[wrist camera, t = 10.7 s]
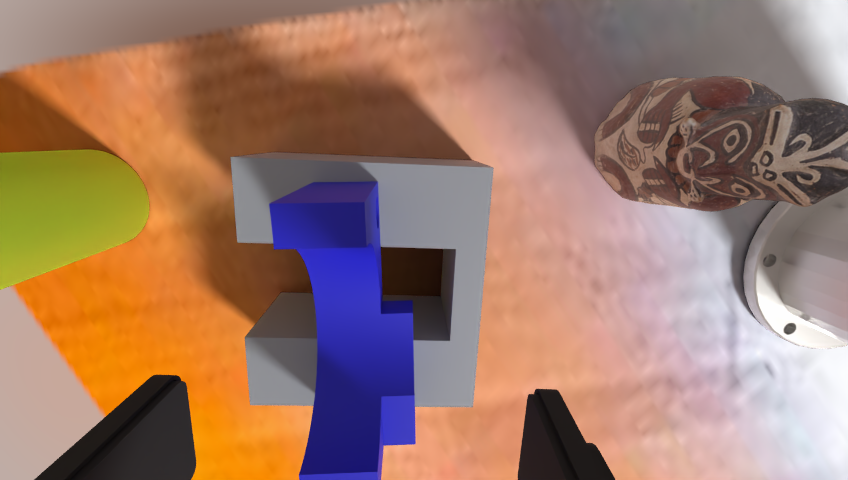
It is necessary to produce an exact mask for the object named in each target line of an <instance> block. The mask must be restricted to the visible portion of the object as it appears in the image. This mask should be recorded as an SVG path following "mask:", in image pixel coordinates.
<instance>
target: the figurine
mask: <svg viewBox="0 0 848 480" xmlns="http://www.w3.org/2000/svg"><path fill="white" fill-rule="evenodd" d="M594 142H595V157H594V159H595V166H596V168H597V169H598V170H599V171H600V172H601V174H602V175H603V177H604V178H605V180H606V181H607V182H608V183H609V184H610V185H611V186H612V188H613V190H615V191H616V192H617V193H618V194H619V195H620V196H621V197H622V198H625V199H629V200H632V201H638V202H644V203H649V204H658V205H668V206H675V207H682V208H689V209H696V210H702V211H720V210H725V209H729V208H733V207H737V206H740V205H742V204H744V203H746V202H748V201H750V200H752V199H756V200H773V201H785V202H788V203H791V204H794V205H797V206H801V207H807V206H811V205H813V204H816V203H818V202H819V201H821V200H823V199H825V198H826V197H828V196H831V195H833V194H835V193H838V192H840V191H842V190H844V189H845V188H847V187H848V106H847V105H845V104H842V103H839V102H835V101H832V100H828V99H816V98H809V99H799V100H794V101H789V102H785V101H784V100H783V98H782V97H781V96H780V95H778V94H776V93H775V92H773V91H772V90H770V89H769V88H767V87H766V86H764V85H762V84H760V83H757V82H754V81H752V80H749V79H746V78H742V77H708V78H667V79H660V80H656V81H652V82H648V83H645V84H642V85H639V86H638V87H636V88H634V89H632V90H631V91H630V92H629V93H628V94H627V95H626V96H625V97H624V98H623V99H622V100H621V101H619V102H618V103H617V104H616V106H615V107H614V109H613V110H612V111H611V112H610V114H609V116H608V118H607V119H606V120H605V121H603V122H602V123H601V124H600V126H599V128H598V129H597V131H596V133H595V136H594Z"/></svg>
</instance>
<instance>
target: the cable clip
mask: <svg viewBox="0 0 848 480" xmlns="http://www.w3.org/2000/svg"><path fill="white" fill-rule="evenodd" d="M269 208H270V217H271V226H272V235H273V244H274V249H296V250H297V251H298V252H299V254H300V255H301V257H302V258H303V260H304V262H305V265H306V267H307V270H308V273H309V277H310V281H311V285H312V290H313V295H314V302H315V310H316V323H317V374H316V388H315V398H314V407H313V414H312V421H311V427H310V432H309V438H308V443H307V447H306V451H305V456H304V459H303V463H302V467H301V470H300V473H299V479H300V480H381V471H382V458H383V445H407V444H415V392H414V344H413V300H403V301H383V295H382V269H381V244H380V218H379V193H378V181H370V182H313V183H311V184H308V185H306V186H304V187H302V188H300V189H298V190H296V191H294V192H292V193H290V194H288V195H286V196H284V197H282V198H280V199H278V200H276V201H273V202H271V203H269Z"/></svg>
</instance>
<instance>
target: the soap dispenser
mask: <svg viewBox="0 0 848 480" xmlns="http://www.w3.org/2000/svg"><path fill="white" fill-rule="evenodd" d="M148 216H149V198H148V194H147V190H146V188H145V186H144V184H143V182H142V180H141V178H140V177H139V176H138V174H137V173H136V172H135V171H134V170H133V169H132V168H131V167H130V166H129V165H128V164H127V163H126V162H124V161H123V160H121V159H120V158H118V157H116V156H114V155H112V154H110V153H107V152H104V151H99V150H92V149H82V150H57V151H32V152H7V153H0V290H1V289H4V288H6V287H9V286H12V285H15V284H17V283H20V282H22V281H25V280H28V279H30V278H33V277H36V276H38V275H41V274H44V273H46V272H49V271H52V270H54V269H57V268H60V267H62V266H65V265H68V264H70V263H73V262H76V261H78V260H81V259H84V258H86V257H89V256H91V255H94V254H97V253H99V252H102V251H105V250H107V249H110V248H113V247H115V246H118V245H121V244H123V243H126V242H128V241H130V240H132V239H133V238H135V237H136V236H137V235H138V234H139V233H140V232H141V231H142V229H143V228H144V226H145V224H146V222H147V219H148Z"/></svg>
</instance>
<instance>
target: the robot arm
mask: <svg viewBox="0 0 848 480" xmlns="http://www.w3.org/2000/svg"><path fill="white" fill-rule="evenodd" d="M743 280H744V291H745V296H746V299H747V302H748V305H749V308H750V309H751V311H752V313H753V314H754V316H755V317H756V319H757V320H758V321H759V322H760V323H761V324H762V325H763V326H764V327H765V328H766V329H767V330H769V331H770V332H772V333H774V334H775V335H777V336H779V337H780V338H782V339H784V340H786V341H789V342H791V343H793V344H795V345H798V346H803V347H807V348H814V349H830V348H837V347H843V346H847V345H848V187H847V188H845V189H844V190H842V191H840V192H838V193H835V194H833V195H831V196H828V197H826V198H825V199H823V200H821V201H819V202H818V203H816V204H813V205H811V206H807V207H801V206H797V205H794V204H791V203H788V202H785V201H779V202H778V203H777V204H776V205H775V206H774V207H773V208H772V209H771V210H770V212H769V213H768V215H767V216H766V217H765V219H764V220H763V221H762V223H761V224H760V226H759V227H758V229H757V231H756V233H755V235H754V237H753V239H752V241H751V243H750V247H749V250H748V253H747V256H746V260H745V267H744V275H743ZM195 468H196V457H195V449H194V441H193V433H192V425H191V417H190V409H189V401H188V393H187V386H186V383H185V382H183V381H181V379H180V377H179V376H177V375H153V376H152V377H150V378H149V379H148V380H147V381H146V382H145V383H144V384H142V385H141V386H140V387H139V388H138V389H137V390H136V391H134V392H133V393H132V394H131V395H130V396H129V397H128V398H126V399H125V400H124V401H123V402H122V403H121V404H120V405H119V406H117V407H116V408H115V409H114V410H113V411H112V412H111V413H109V414H108V415H107V416H106V417H105V418H104V419H103V420H102V421H100V422H99V423H98V424H97V425H96V426H95V427H94V428H92V429H91V430H90V431H89V432H88V433H87V434H86V435H85V436H83V437H82V438H81V439H80V440H79V441H78V442H76V443H75V444H74V445H73V446H72V447H71V448H70V449H69V450H67V451H66V452H65V453H64V454H63V455H62V456H61V457H59V459H57V460H56V461H55V462H54V463H53V464H52V465H51V466H49V467H48V468H47V469H46V470H45V471H44V472H42V473H41V474H40V475H39V476H38V477H37V478H36V479H35V480H191V478H192V477H193V474H194V472H195ZM518 480H615V478H614V476H613V474H612V473H611V471H610V469H609V467H608V466H607V464H606V462H605V460H604V458H603V457H602V455H601V453H600V451H599V450H598V448H597V447H596V445H594V444H593V443H586V442H585V440H584V438H583V436H582V434H581V432H580V431H579V429H578V427H577V425H576V423H575V421H574V419H573V417H572V415H571V414H570V412H569V410H568V408H567V406H566V404H565V402H564V400H563V398H562V396H561V395H560V393H559V391H558V390H552V389H536V390H535V392H534V394H529V395H528V399H527V406H526V414H525V422H524V430H523V438H522V446H521V454H520V462H519V470H518Z"/></svg>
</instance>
